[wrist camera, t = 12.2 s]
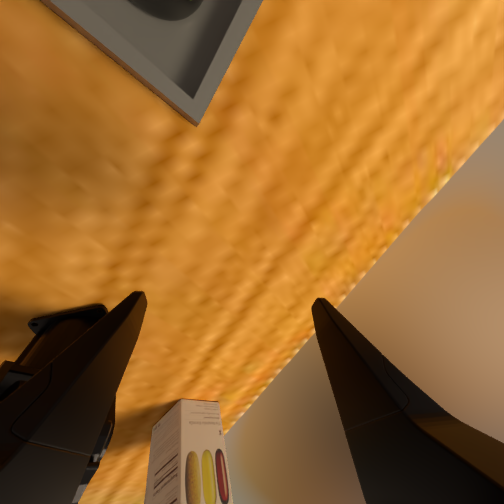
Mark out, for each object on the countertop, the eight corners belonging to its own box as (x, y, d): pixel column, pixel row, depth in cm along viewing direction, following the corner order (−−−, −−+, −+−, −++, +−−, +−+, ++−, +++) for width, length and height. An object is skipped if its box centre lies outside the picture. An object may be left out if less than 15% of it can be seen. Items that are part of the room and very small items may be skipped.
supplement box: (220, 400, 38) (242, 542, 25) (193, 426, 40) (200, 575, 26) (179, 397, 33) (179, 575, 19) (150, 427, 35) (130, 614, 21)
